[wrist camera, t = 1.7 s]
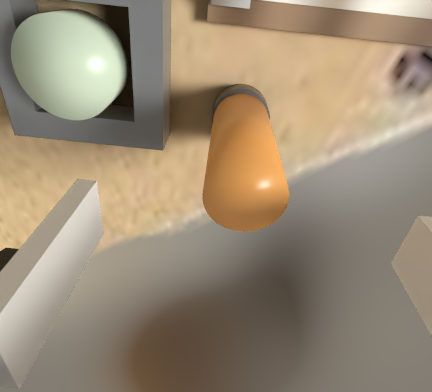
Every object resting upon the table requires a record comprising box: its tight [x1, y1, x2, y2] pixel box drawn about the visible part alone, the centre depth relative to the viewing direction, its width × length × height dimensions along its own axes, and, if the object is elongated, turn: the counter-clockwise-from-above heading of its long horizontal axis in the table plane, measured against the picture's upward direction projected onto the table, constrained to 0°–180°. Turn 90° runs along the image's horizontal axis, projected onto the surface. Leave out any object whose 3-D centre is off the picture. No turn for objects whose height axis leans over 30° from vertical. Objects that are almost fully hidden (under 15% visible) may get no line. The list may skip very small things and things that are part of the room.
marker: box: [203, 84, 289, 231], centre depth 19 cm, size 4×4×12 cm
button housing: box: [0, 0, 171, 150], centre depth 21 cm, size 11×11×3 cm
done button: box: [11, 9, 128, 120], centre depth 20 cm, size 6×6×3 cm
